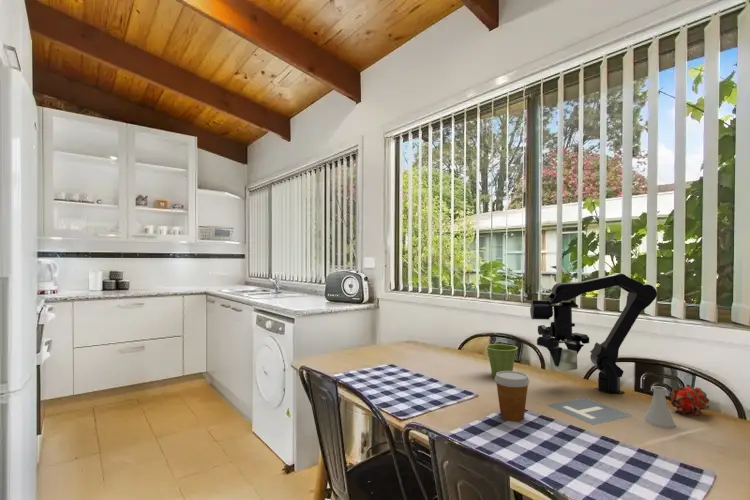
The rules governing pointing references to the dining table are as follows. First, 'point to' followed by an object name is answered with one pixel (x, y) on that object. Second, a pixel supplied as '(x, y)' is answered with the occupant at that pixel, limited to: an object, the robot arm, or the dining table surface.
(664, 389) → the flask
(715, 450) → the dining table surface
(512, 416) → the disposable coffee cup
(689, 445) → the dining table surface
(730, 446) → the dining table surface
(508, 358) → the plant pot
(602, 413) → the board
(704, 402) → the dragon fruit
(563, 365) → the sage block
